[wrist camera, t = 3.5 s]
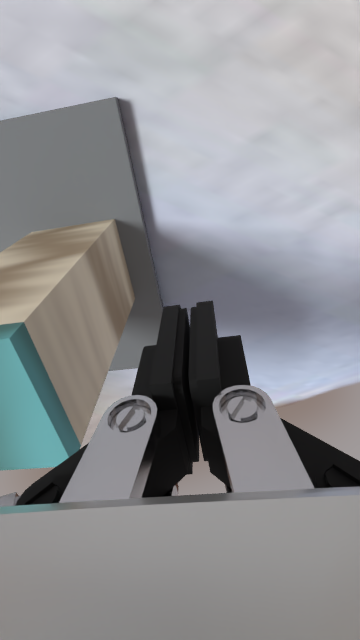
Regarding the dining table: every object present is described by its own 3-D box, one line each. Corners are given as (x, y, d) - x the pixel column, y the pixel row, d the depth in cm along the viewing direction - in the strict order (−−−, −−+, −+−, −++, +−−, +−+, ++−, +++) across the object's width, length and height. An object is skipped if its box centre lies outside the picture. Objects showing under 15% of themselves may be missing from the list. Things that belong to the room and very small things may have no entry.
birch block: (114, 219, 19) (9, 338, 8) (135, 298, 21) (73, 466, 11) (31, 232, 19) (-162, 357, 9) (60, 307, 22) (-65, 474, 11)
